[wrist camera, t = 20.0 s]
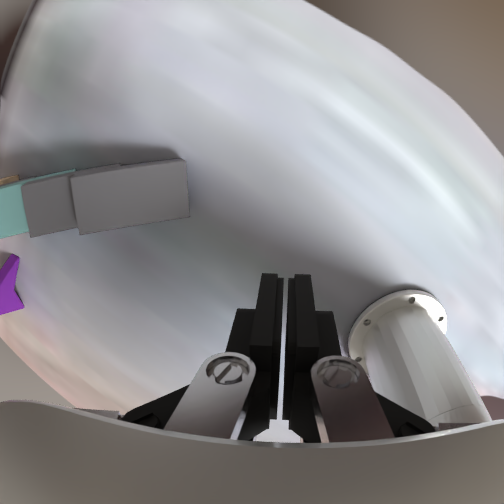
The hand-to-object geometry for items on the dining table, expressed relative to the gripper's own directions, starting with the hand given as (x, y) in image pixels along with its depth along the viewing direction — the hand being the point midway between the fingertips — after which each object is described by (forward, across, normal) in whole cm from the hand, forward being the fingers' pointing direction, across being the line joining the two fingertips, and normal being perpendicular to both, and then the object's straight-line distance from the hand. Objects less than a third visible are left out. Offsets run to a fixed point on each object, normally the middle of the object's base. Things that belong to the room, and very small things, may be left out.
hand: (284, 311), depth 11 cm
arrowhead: (+19, +37, +11) cm, 43 cm away
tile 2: (+18, +9, -1) cm, 20 cm away
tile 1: (+17, +15, -1) cm, 23 cm away
